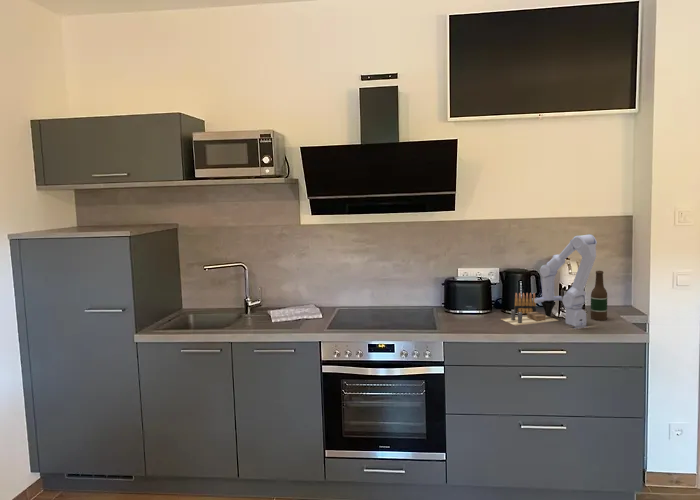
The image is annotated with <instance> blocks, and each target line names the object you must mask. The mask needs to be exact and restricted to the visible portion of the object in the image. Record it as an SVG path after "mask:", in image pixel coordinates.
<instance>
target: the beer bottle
mask: <svg viewBox="0 0 700 500" xmlns="http://www.w3.org/2000/svg"><path fill="white" fill-rule="evenodd" d="M594 282H595V284H594V287H593V289H592V290H591V293H590V319H591V320H593V321H601V322H602V321H606V320H607V318H608V292H607V289H606V288H605V286H604V271H603V270H596V271H595V281H594Z"/></svg>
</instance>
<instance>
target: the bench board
mask: <svg viewBox="0 0 700 500" xmlns="http://www.w3.org/2000/svg"><path fill="white" fill-rule="evenodd" d="M500 320H501V321H504V322H506V323H509V324H510V325H513V326H521V325H522V326H525V325H532V324H540V323H549V322H559V320H558V319H556V318H553V317H551V316H546V320H543V321H535V320H532V319H529V318H527V315H524V316H523V315H522V323H518V316H515V320H511V317H508V318H507V317H506V318H500Z"/></svg>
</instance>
